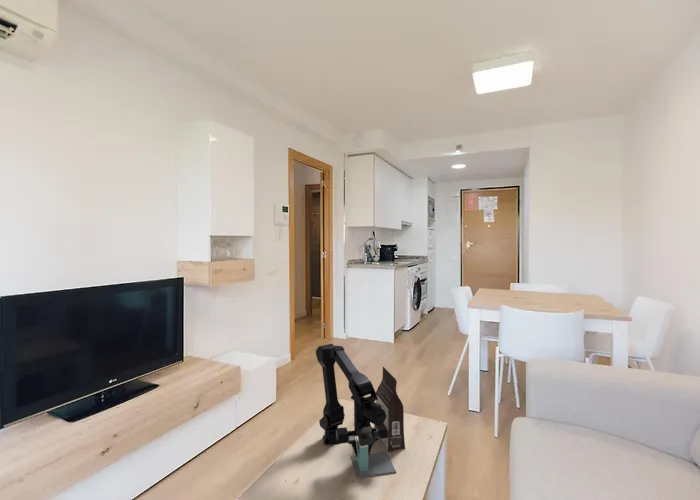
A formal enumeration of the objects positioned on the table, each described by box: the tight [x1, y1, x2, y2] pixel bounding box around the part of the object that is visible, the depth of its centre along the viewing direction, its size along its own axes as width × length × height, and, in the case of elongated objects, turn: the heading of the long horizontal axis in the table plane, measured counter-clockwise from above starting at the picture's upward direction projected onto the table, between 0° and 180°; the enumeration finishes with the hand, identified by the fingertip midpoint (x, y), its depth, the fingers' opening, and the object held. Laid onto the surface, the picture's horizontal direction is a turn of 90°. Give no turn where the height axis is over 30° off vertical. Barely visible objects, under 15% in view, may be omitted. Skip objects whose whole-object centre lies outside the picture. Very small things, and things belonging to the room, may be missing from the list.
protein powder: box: [375, 366, 406, 452], centre depth 147 cm, size 16×9×28 cm, turn 14°
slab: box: [355, 436, 368, 471], centre depth 129 cm, size 7×3×9 cm, turn 10°
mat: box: [351, 450, 397, 479], centre depth 130 cm, size 12×14×1 cm
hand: (362, 455), depth 130 cm, fingers open, 4 cm apart
